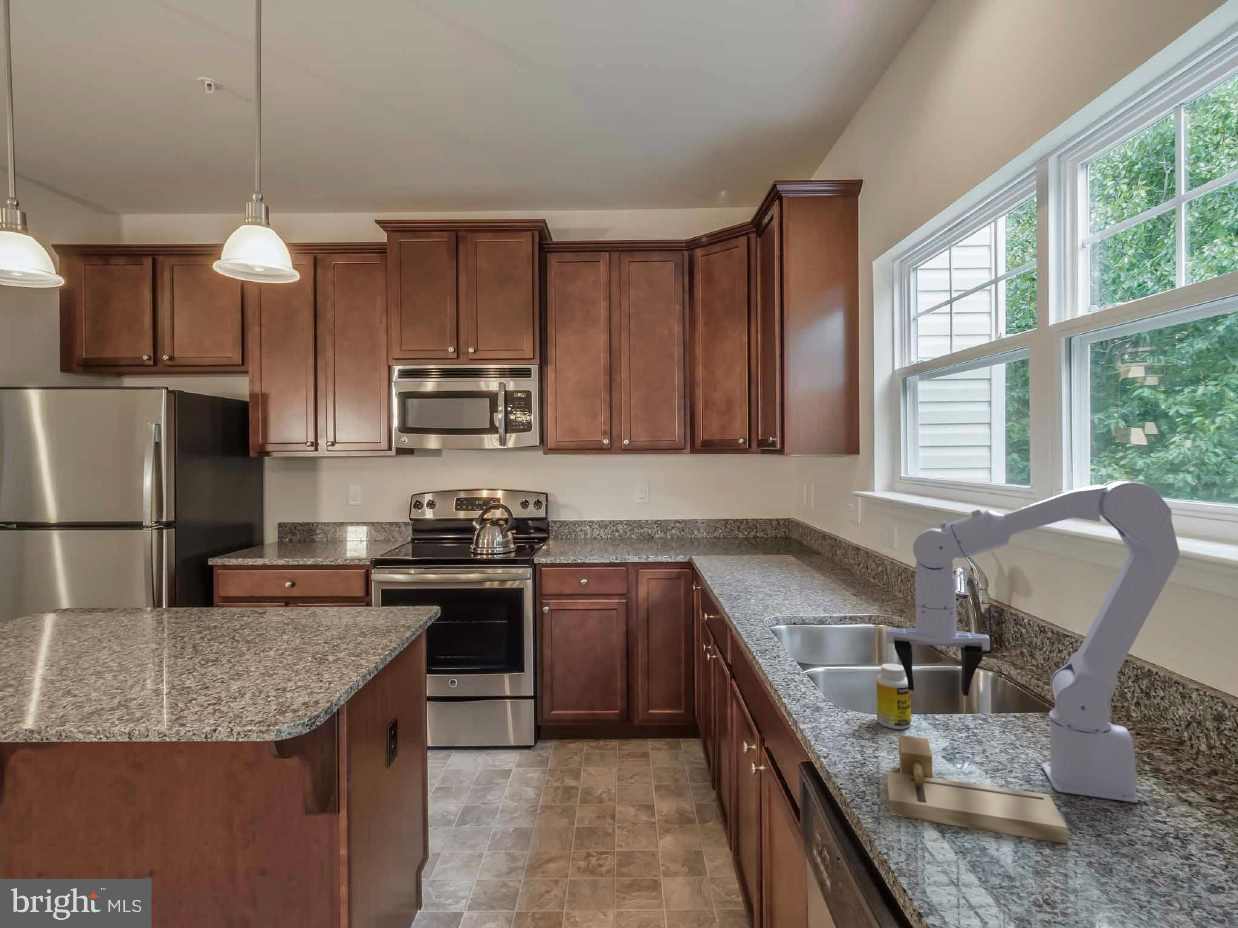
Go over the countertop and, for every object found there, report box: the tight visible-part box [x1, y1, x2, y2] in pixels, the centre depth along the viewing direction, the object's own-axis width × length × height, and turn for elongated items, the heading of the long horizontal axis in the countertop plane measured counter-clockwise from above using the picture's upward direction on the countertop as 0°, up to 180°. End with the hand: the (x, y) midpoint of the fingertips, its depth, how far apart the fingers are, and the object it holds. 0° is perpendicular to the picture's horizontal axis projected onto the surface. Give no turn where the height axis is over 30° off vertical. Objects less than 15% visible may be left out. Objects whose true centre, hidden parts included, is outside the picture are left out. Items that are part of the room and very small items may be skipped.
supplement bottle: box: [875, 663, 912, 730], centre depth 113 cm, size 6×6×10 cm
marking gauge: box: [898, 734, 933, 786], centre depth 91 cm, size 4×11×5 cm, turn 159°
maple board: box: [886, 771, 1069, 845], centre depth 84 cm, size 20×8×2 cm, turn 69°
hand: (937, 690), depth 100 cm, fingers open, 7 cm apart
